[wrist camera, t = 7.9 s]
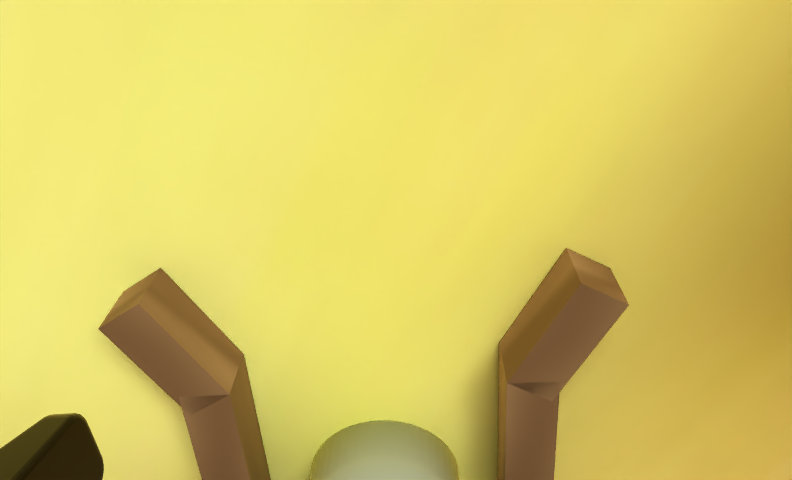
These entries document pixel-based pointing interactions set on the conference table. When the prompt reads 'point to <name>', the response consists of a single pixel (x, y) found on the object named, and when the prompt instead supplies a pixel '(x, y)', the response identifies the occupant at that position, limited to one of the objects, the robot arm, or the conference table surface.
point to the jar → (384, 454)
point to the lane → (232, 397)
